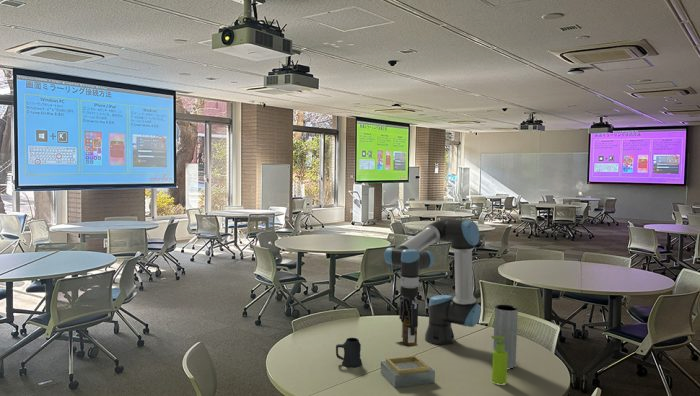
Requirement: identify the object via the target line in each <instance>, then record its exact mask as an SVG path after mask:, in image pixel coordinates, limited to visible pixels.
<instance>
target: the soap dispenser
mask: <svg viewBox="0 0 700 396" xmlns="http://www.w3.org/2000/svg"><path fill="white" fill-rule="evenodd" d="M490 338H491V339H492V340H494V339H495V338H499V342H498V343H497V344H496V350H494V351H493V350H492V364H491V365H492V367H491V369H492V370H491V382H492V381H493V382H495V383H499V384H503V383H506V384H507V378H508V377H507V375H508V369H507V352H506V351H504V350H505V344H503V339H505V337H504V336H499V335H496V336H494V335H491V336H490Z"/></svg>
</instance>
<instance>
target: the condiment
mask: <svg viewBox="0 0 700 396" xmlns="http://www.w3.org/2000/svg"><path fill="white" fill-rule="evenodd" d="M408 327H409V317H408V315H405V316H404V322H403V338H402V341H398V342H397V341H396V342H395V344H396V345H398V346H399V347H402V348H404V349H407V348H411V347H419V346H421V345H422V344H421V343H418V327H415V342H414V343H408Z"/></svg>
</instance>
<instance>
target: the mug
mask: <svg viewBox="0 0 700 396" xmlns="http://www.w3.org/2000/svg"><path fill="white" fill-rule="evenodd" d="M361 346H362V345H361V343H360V340H359V338H356V337H347V338H346V340H345V341H344V343H343V344H342V343H341V344H336V345H335V356H336V357H337V359H339V360H342V363H341V364H342V366H344V367H346V368H359V367H361V366H362V365H363V363H362V362H363V361H362V359H361V349H362V347H361ZM339 348H342V349H343V357H342V356H341V355H340V354H339Z"/></svg>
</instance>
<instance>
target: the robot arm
mask: <svg viewBox="0 0 700 396" xmlns="http://www.w3.org/2000/svg"><path fill="white" fill-rule="evenodd" d="M479 239H480V229H479V226H478V225H477V223H476V222H474V221H473V220H467V219H456V218H455V219H453V218H451V219H450V218H442V219H438V220H436V221H434V222H431V223H429V224H427V225H425V227H424V228H423V230H421V231H420V232H419V233H417V234H416V235H414V236H413V237H411V238H410V239H408V240H406V241H405V242H403V243H402V244H400V245H399V246H397V247H388V248H385V251H384V252H383V253H384V254H383V258H384V261H385V263H386V264H387V265H392V266H399V267H400V278H399V281H400V287H399V288H400V289H399V290H400V291H399V293H400V296H399V304H400V305H399V320H400V323H401V335H400V336H401V338H402V339H403V322H404V316H405V315H408V317H409V327H408V343H414V342H415V327H417V328H418V327H419V315H418V314H419V311H418V310H419V303H416V299H415V298H416V297H417V296H418V295H419V281H420V280H419V274H420V273H419V272H420V271H421V270H425V269H429V268H431V267H432V266H433V265H434V263H435V257H434V255H433V253H432V252H431V251H429V250H424V249H426V248H428V247H429V246H430V245H433V244H437V243H438V242H439V243H440V242H441V243H442V242H444V243H450V248H451V249H452V250H453V254H454V283H455V286H454V287H455V288H454V290H455V292H454V293H455V296H454V297H453V296H452V295H448V294H441V295H439V294H438V295H433V296H432V297H430V298H429V301H428V302H429V303H428V325H427V328H426V331H425V333H424V334H425V335H424V339H425V341H426V342H427V343H431V344H435V345H450V344H453V343H454V342H455V334H454V331H453V328H452V324H453V325H454V324H455V325H459V326H463V327H470V328H473V327H475V326H476V325H477V324H478V322H479V321H480V318H481V313H482V307H481V305H480V304H478V303H477V299H476V297H475V296H474V291H473V290H474V284H473V282H474V281H473V280H474V279H473V250H475V248H476V246H477V245H478V243H479V241H480V240H479Z"/></svg>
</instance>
